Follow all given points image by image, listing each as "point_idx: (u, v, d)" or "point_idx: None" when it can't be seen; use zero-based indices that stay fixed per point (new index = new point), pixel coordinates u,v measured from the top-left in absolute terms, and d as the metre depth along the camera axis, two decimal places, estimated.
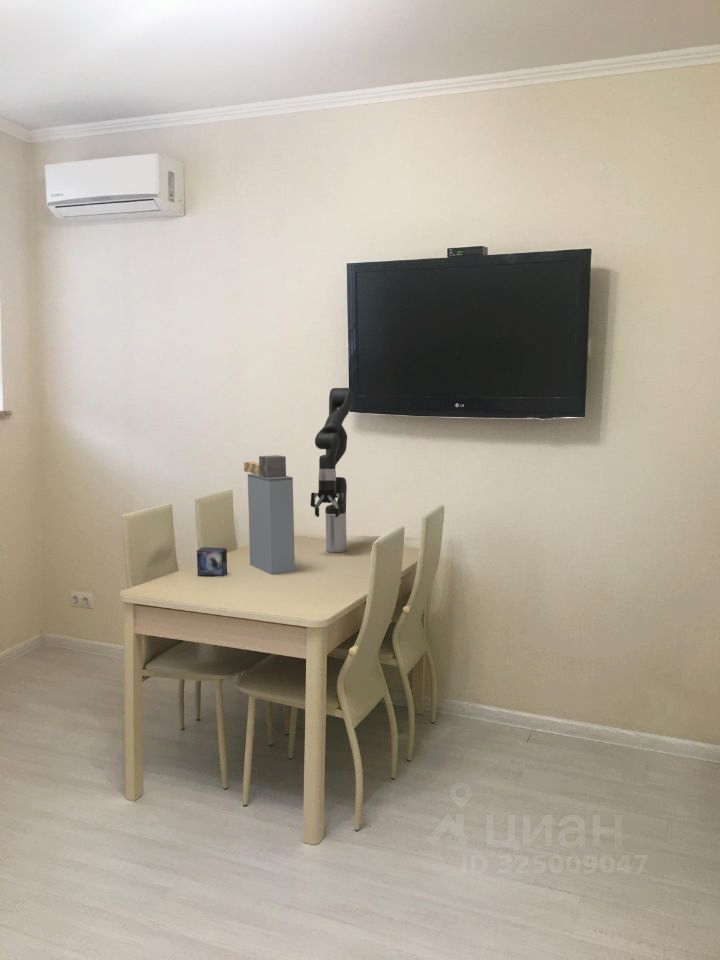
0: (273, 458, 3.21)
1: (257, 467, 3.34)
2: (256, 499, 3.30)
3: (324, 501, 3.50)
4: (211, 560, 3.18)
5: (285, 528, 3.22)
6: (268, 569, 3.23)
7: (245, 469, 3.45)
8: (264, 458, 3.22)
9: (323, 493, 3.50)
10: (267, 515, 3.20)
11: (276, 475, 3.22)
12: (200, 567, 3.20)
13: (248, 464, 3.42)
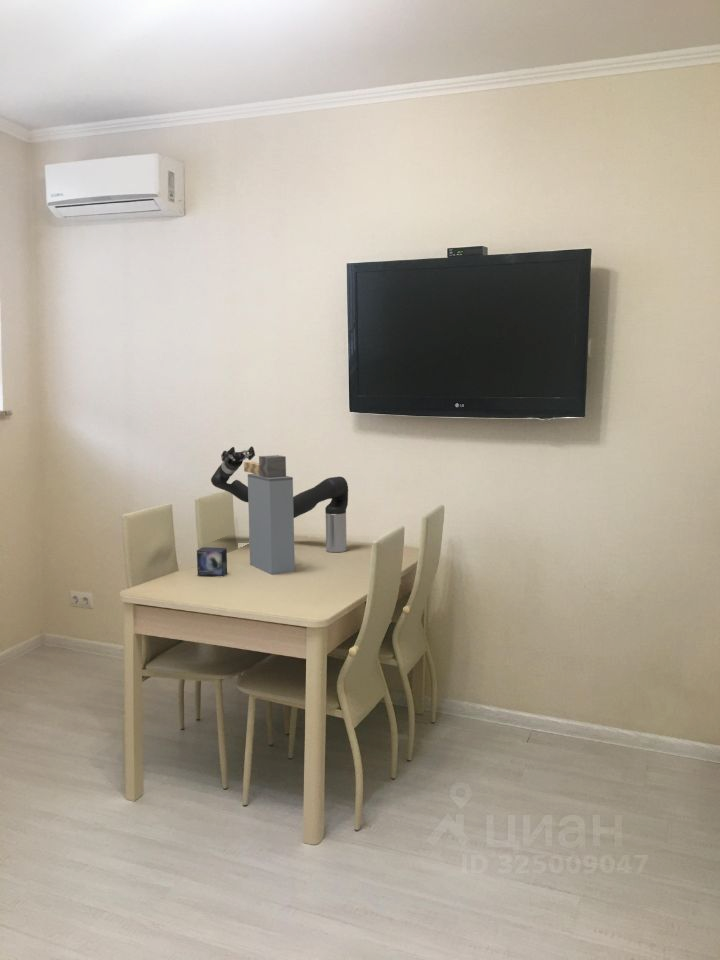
0: (273, 458, 3.21)
1: (257, 467, 3.34)
2: (256, 499, 3.30)
3: None
4: (211, 560, 3.18)
5: (285, 528, 3.22)
6: (268, 569, 3.23)
7: (245, 469, 3.45)
8: (264, 458, 3.22)
9: None
10: (267, 515, 3.20)
11: (276, 475, 3.22)
12: (200, 567, 3.20)
13: (248, 464, 3.42)
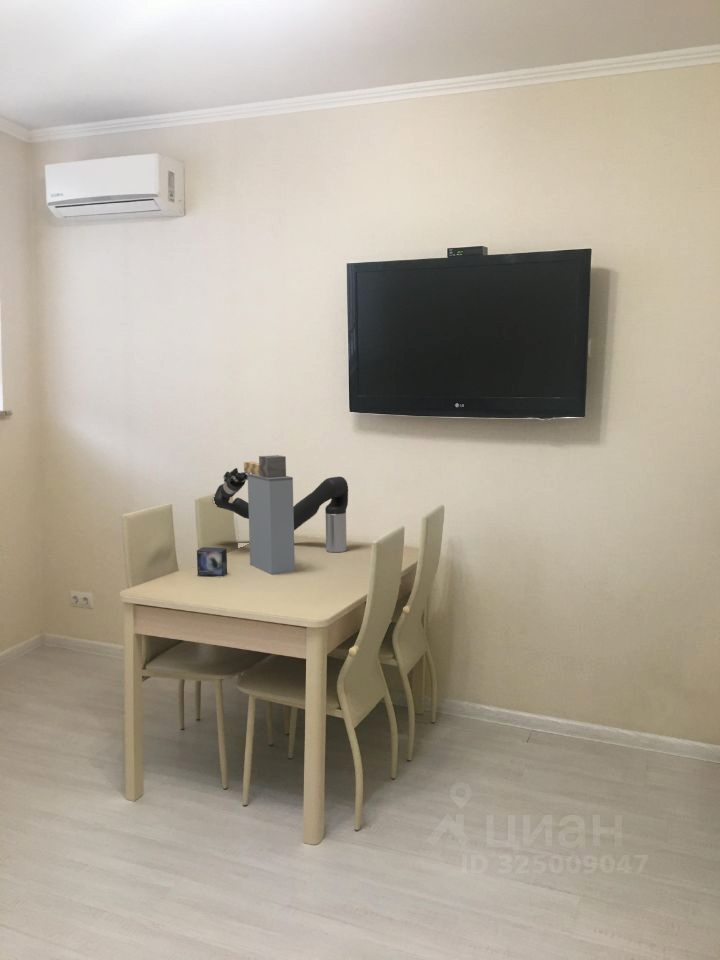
0: (273, 458, 3.21)
1: (257, 467, 3.34)
2: (256, 499, 3.30)
3: (238, 473, 3.54)
4: (211, 560, 3.18)
5: (285, 528, 3.22)
6: (268, 569, 3.23)
7: (245, 469, 3.45)
8: (264, 458, 3.22)
9: None
10: (267, 515, 3.20)
11: (276, 475, 3.22)
12: (200, 567, 3.20)
13: (248, 464, 3.42)
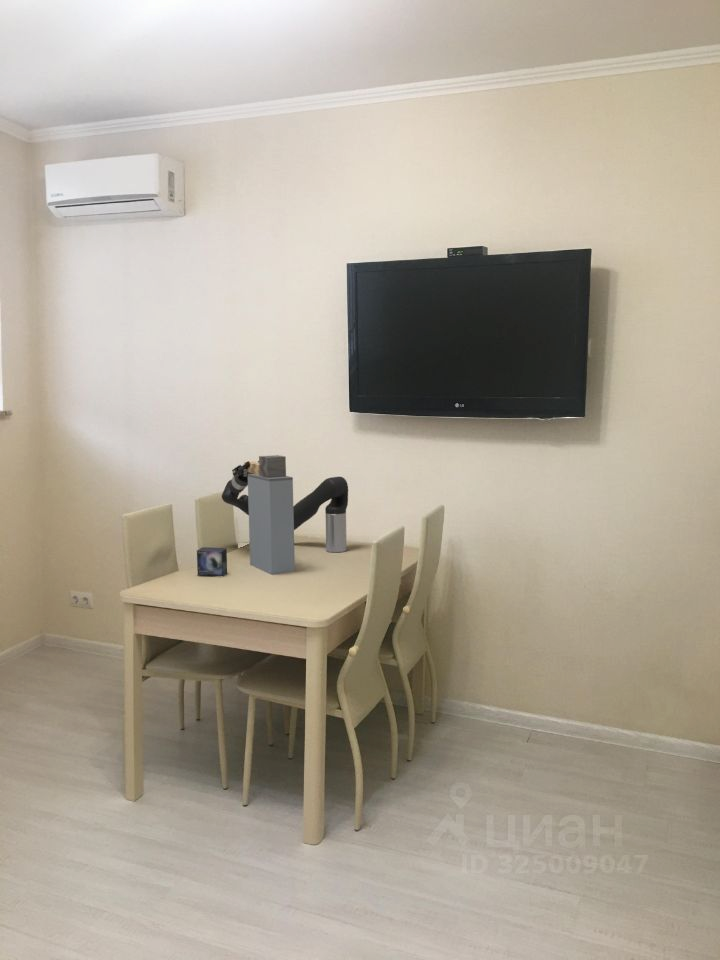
0: (273, 458, 3.21)
1: (257, 467, 3.34)
2: (256, 499, 3.30)
3: None
4: (211, 560, 3.18)
5: (285, 528, 3.22)
6: (268, 569, 3.23)
7: None
8: (264, 458, 3.22)
9: None
10: (267, 515, 3.20)
11: (276, 475, 3.22)
12: (200, 567, 3.20)
13: None
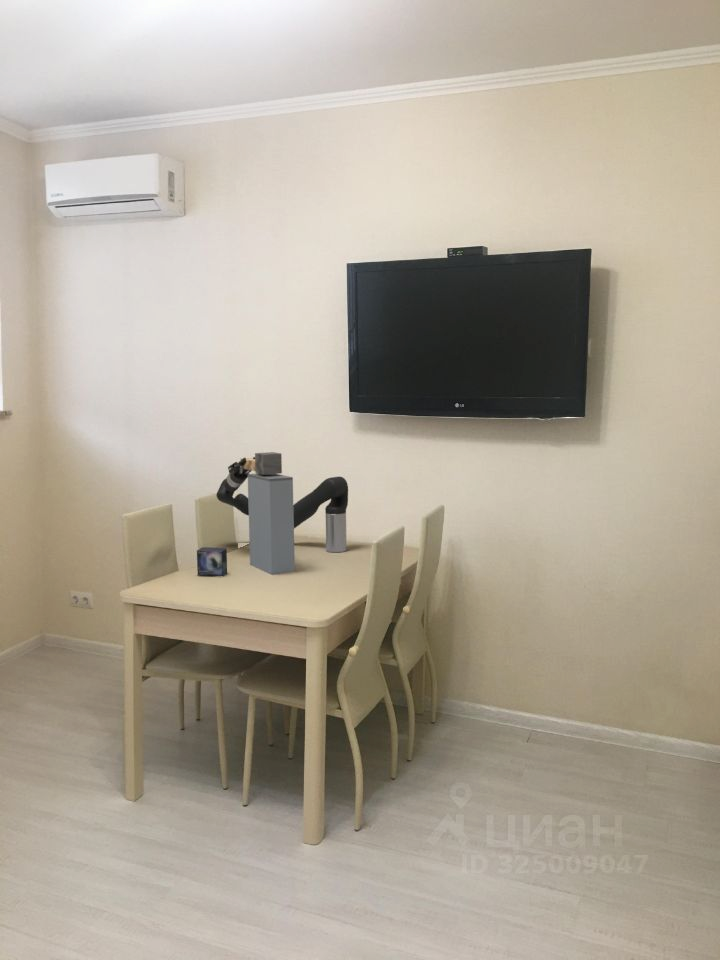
0: (269, 455, 3.24)
1: (253, 464, 3.37)
2: (256, 499, 3.30)
3: None
4: (211, 560, 3.18)
5: (285, 528, 3.22)
6: (268, 569, 3.23)
7: None
8: (260, 455, 3.25)
9: None
10: (267, 515, 3.20)
11: (272, 472, 3.26)
12: (200, 567, 3.20)
13: None
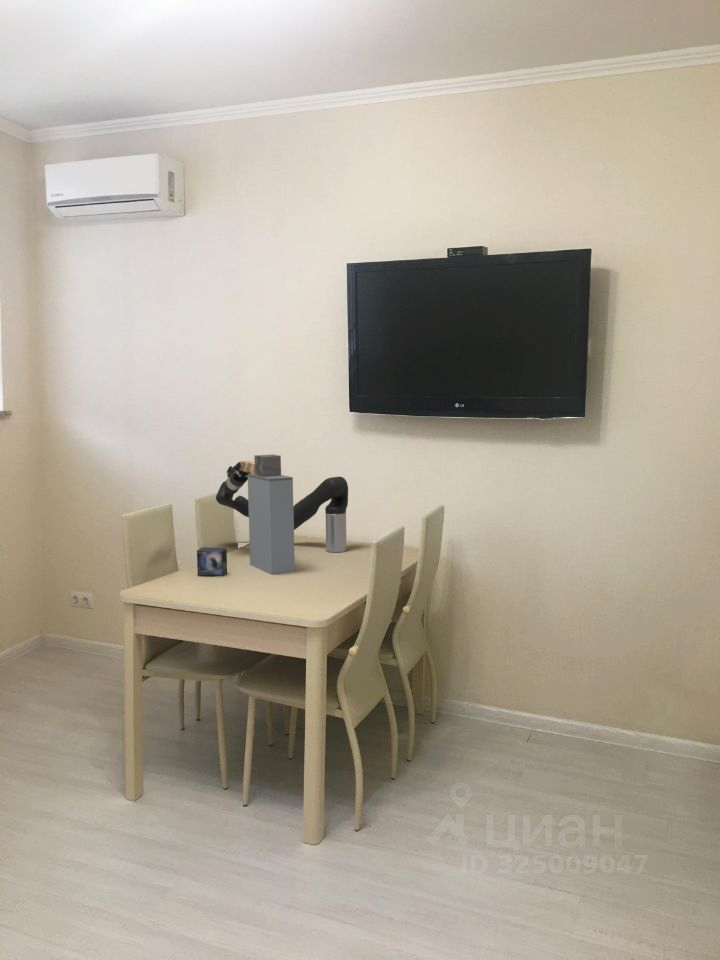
0: (268, 457, 3.25)
1: (252, 466, 3.38)
2: (256, 499, 3.30)
3: None
4: (211, 560, 3.18)
5: (285, 528, 3.22)
6: (268, 569, 3.23)
7: (241, 468, 3.49)
8: (259, 457, 3.26)
9: None
10: (267, 515, 3.20)
11: (271, 474, 3.26)
12: (200, 567, 3.20)
13: (243, 463, 3.46)
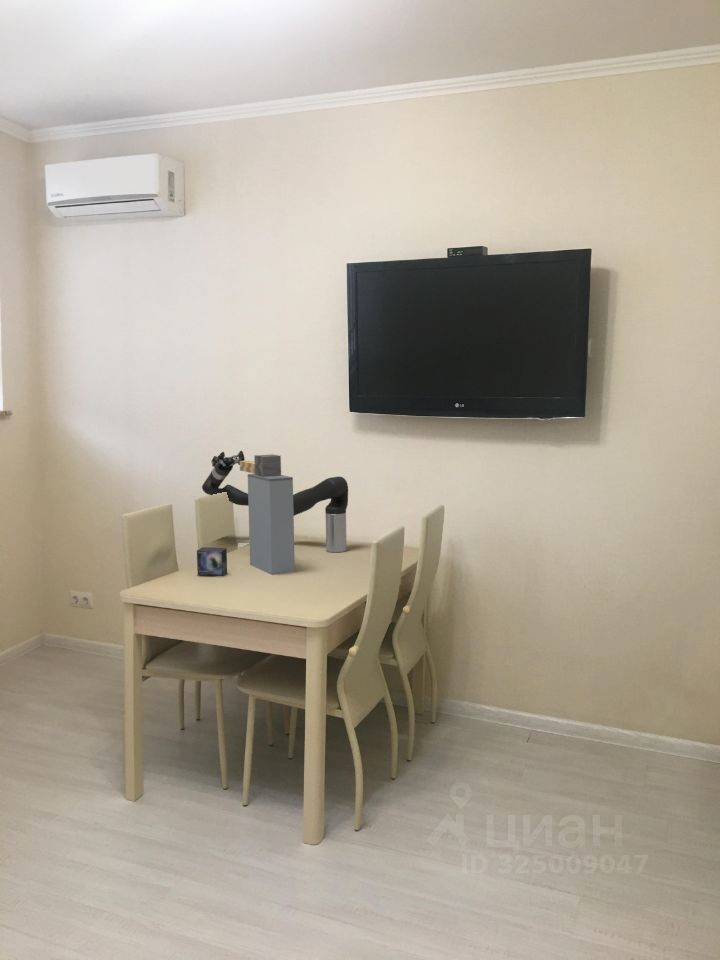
0: (268, 457, 3.25)
1: (252, 466, 3.38)
2: (256, 499, 3.30)
3: None
4: (211, 560, 3.18)
5: (285, 528, 3.22)
6: (268, 569, 3.23)
7: (241, 468, 3.49)
8: (259, 457, 3.26)
9: None
10: (267, 515, 3.20)
11: (271, 474, 3.26)
12: (200, 567, 3.20)
13: (243, 463, 3.46)
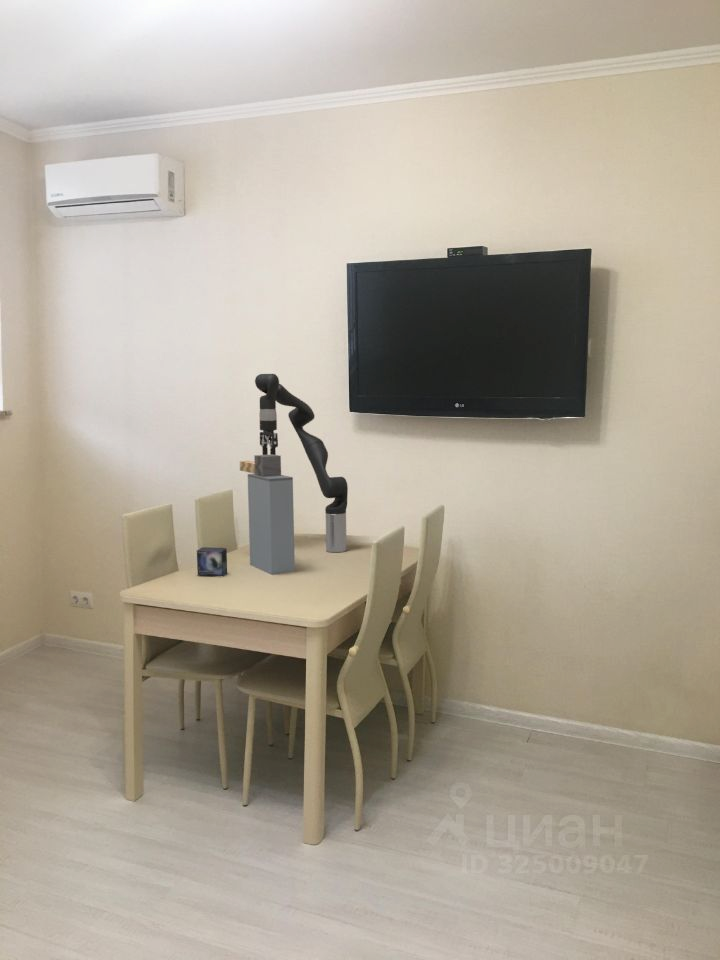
0: (268, 457, 3.25)
1: (252, 466, 3.38)
2: (256, 499, 3.30)
3: None
4: (211, 560, 3.18)
5: (285, 528, 3.22)
6: (268, 569, 3.23)
7: (241, 468, 3.49)
8: (259, 457, 3.26)
9: None
10: (267, 515, 3.20)
11: (271, 474, 3.26)
12: (200, 567, 3.20)
13: (243, 463, 3.46)
